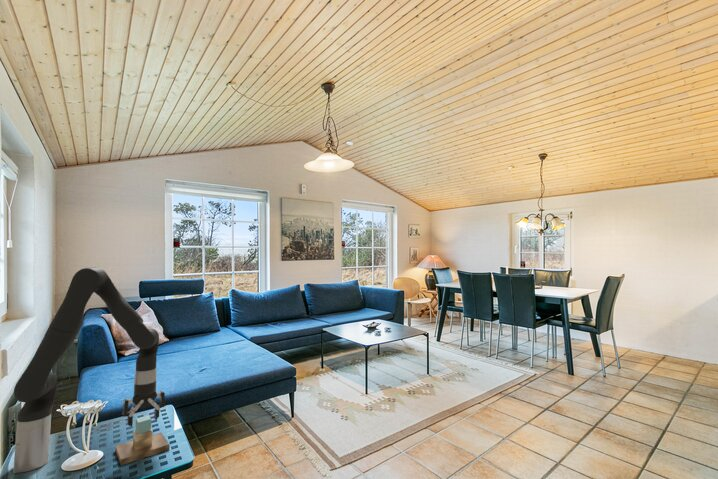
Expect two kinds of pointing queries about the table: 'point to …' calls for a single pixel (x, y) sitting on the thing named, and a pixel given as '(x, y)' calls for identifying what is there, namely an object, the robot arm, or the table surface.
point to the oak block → (142, 439)
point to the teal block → (143, 424)
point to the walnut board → (129, 454)
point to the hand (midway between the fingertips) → (143, 422)
